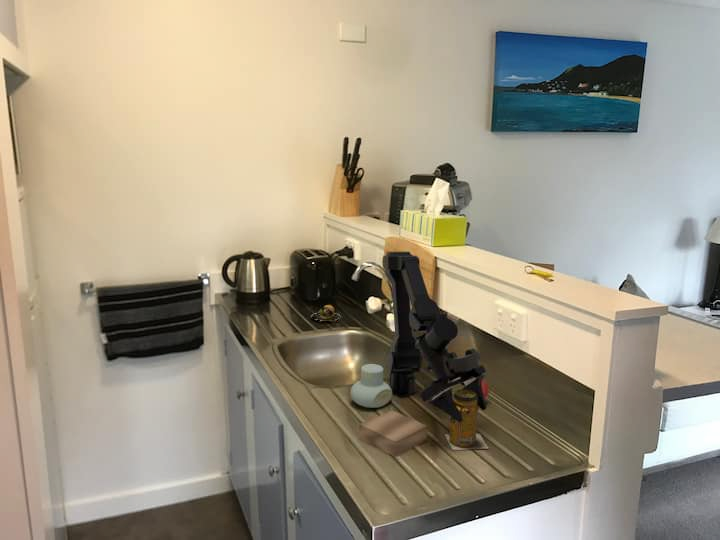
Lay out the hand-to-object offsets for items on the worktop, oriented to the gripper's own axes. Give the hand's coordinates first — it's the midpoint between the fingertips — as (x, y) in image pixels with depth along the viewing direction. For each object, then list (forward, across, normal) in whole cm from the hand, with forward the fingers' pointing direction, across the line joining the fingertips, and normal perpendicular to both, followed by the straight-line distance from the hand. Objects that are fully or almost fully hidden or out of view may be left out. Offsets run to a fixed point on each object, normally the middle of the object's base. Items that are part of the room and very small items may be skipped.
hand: (473, 415), depth 133 cm
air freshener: (-16, -2, +27) cm, 31 cm away
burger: (-62, +39, +73) cm, 103 cm away
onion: (-4, +20, +14) cm, 25 cm away
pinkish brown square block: (-4, -12, +15) cm, 20 cm away
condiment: (+4, 0, +6) cm, 7 cm away
